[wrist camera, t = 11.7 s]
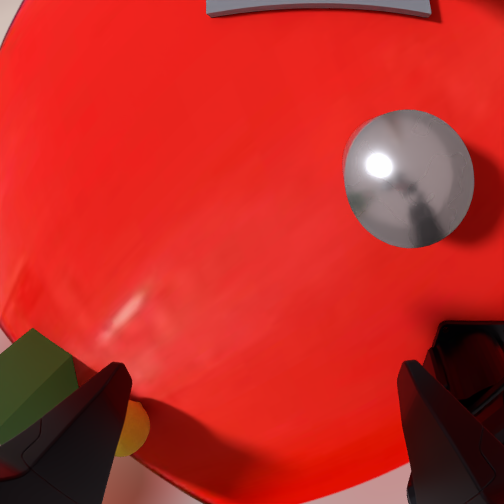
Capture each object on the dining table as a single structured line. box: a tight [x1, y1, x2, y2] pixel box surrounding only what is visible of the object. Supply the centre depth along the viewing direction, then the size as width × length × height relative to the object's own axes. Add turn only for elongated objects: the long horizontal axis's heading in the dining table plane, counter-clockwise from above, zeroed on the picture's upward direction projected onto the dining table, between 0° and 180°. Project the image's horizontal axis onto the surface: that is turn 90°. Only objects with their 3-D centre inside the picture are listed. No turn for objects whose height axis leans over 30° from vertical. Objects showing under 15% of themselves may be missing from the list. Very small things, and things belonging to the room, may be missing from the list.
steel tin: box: [342, 110, 474, 248], centre depth 14 cm, size 6×6×5 cm
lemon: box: [115, 400, 150, 457], centre depth 27 cm, size 6×6×8 cm
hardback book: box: [0, 328, 79, 446], centre depth 25 cm, size 18×7×24 cm, turn 166°
